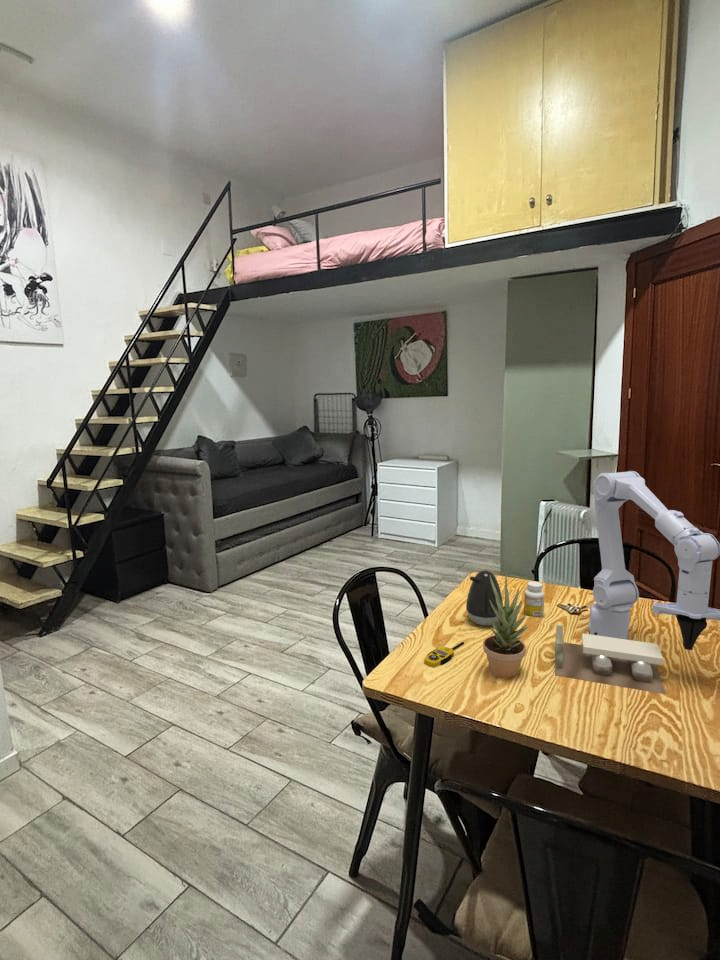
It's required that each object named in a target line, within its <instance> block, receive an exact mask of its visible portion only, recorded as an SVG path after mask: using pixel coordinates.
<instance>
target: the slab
mask: <svg viewBox="0 0 720 960" xmlns="http://www.w3.org/2000/svg"><path fill="white" fill-rule="evenodd" d="M581 645H582V646H583V653H587V654H594V655H600V656H607V657H613V658H620V659H626V660H633V661H639V662H646V663H653V664H656V665H660V666H663V665H664V658H663V655H662V652H661V649H660V647H659V644H658V643H652V642H646V641H639V640H632V639H627V640H626V639H619V638H612V637H604V636H597V635H590V633H581Z"/></svg>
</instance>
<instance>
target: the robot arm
mask: <svg viewBox="0 0 720 960" xmlns="http://www.w3.org/2000/svg"><path fill="white" fill-rule="evenodd" d="M592 488H593V496H594V497H593V498H594V510H595V511H594V512H595V518H596V526H597V527H596V528H597V537H598V545H599V553H600V563H601V571H599V572H598V573H597V575H595V576H594V578H593V581H594V584H593V585H594V586H593V588H592V596H593V600H594V602H595V603H590V608H589V621H588V625H587V626H588V628H587V629H588V631H589V634H590V635H597V636H604V637H612V638H619V639H626V640H629V631H630V630H629V627H630V617H631V616H630V615H631V609H632V608H633V607H634V604H635V603H637V602H638V600H639V597H640V592H639V589H638V586H637V584H636V583H635V582H636V581H635V576H634V575H633V574H632V573H631V572H629V571H628V570H627V569H626V564H625V556H624V555H625V554H624V547H623V539H622V530H621V521H620V513H619V509H620V508H621V507H622V505H623V504H624V503H625V502H627V501H628V500H631V501H633V502H634V503H635V504H636V505H637V506H638V507H640V509H642V510H643V511H644V512H646V513H647V514H648V515H649V516H651V518H652V519H654V520H655V521H654V527H655V529H657V531H659V532H660V533H661V535H663V536H664V537H665V538H666V539H667V540H668V542H670V543H671V544H672V545H673V546H674V553H675V556H676V557H677V566H678V570H679V571H678V582H677V591H676V592H677V594H676V602H652V608H651V609H652V614H654V615H661V614H662V615H670V616H675V618H676V620H677V623H678V625H679V629H680V632H681V636H682V645H683V647H684V650H688V651H693V650H694V647H695V644H696V642H697V640H698V638H699V637H700V635H701V633H703V632H704V630H705V629H706V628H707V626H708V622H707V620H710V621H711V620H712V621H719V622H720V609H718V608H713V607H710V606H709V599H710V590H711V589H710V587H711V578H712V569H713V561H715V560H716V559H718V557H719V556H720V542H719V541H718V539H717V538H716V537H715V535H714V534H712V533H708V532H703V531H701V530H700V529H699V528H698V527H696V526H694V525H693V523H691V522H689V520H688V519H687V518H686V517H684V516H685V515H684V513H683V512H681V511H678V510H674V509H668V508H667V507H666V506H665V504H664V503H662V502H661V500H660V499H659V498H657V496H656V495H655V494H654V493H653V492H652V491H651V490H650V488H649V487H647V485H646V480H645V478H643V477H642V476H641V475H640V474H639V473H638V472H637V471H634V470H628V471H621V472H602V473H600V474H598V475H597V477H596V478H595V479H594V481H593V482H592ZM595 633H596V634H595Z"/></svg>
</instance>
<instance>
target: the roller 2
mask: <svg viewBox="0 0 720 960" xmlns="http://www.w3.org/2000/svg"><path fill="white" fill-rule="evenodd" d="M629 662H630V666H631V670H632V674H633V676H634V678H635V679H636V680H638V681H640V682H648V681H650V680H651V679H652V677H653V672H652V669H651V666H650V663H646V662H639V661H633V660H629Z"/></svg>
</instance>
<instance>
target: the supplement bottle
mask: <svg viewBox="0 0 720 960" xmlns="http://www.w3.org/2000/svg"><path fill="white" fill-rule="evenodd" d="M542 589H543V584H542V582H541V581H540V582H539V581H535V580H534V581H533V580H532V581H529V582H527V588H526V589H525V591H524V600H523V602H524V603H523V614H524V616H526V617H533V618H534V617H535V618H539V619H542V618H543V617H544V614H545V613H544V611H545V608H544V607H545V592H544V591H543V590H542Z"/></svg>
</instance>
